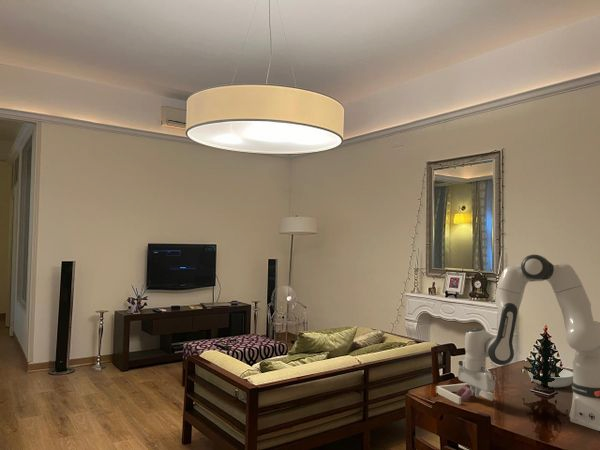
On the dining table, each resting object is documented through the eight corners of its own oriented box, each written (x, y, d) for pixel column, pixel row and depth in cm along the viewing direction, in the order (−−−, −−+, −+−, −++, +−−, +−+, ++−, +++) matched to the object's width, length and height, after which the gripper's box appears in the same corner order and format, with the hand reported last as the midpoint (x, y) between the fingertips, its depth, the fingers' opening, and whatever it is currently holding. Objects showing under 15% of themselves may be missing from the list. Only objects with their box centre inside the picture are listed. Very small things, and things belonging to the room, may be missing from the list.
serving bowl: (533, 377, 253) (533, 364, 253) (578, 384, 240) (578, 370, 240) (523, 385, 237) (522, 371, 237) (570, 394, 223) (570, 379, 224)
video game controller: (469, 404, 212) (476, 390, 212) (459, 399, 213) (467, 385, 212) (464, 397, 222) (471, 384, 222) (455, 392, 222) (462, 379, 222)
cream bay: (493, 400, 214) (493, 393, 214) (458, 404, 208) (458, 397, 208) (468, 389, 230) (468, 382, 230) (435, 392, 224) (435, 386, 224)
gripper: (497, 370, 203) (497, 402, 202) (466, 359, 222) (466, 388, 222) (485, 371, 201) (485, 404, 200) (455, 360, 220) (455, 390, 220)
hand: (475, 396), depth 211 cm, fingers closed
